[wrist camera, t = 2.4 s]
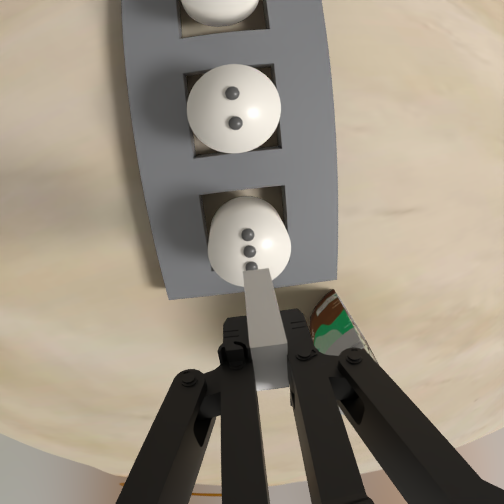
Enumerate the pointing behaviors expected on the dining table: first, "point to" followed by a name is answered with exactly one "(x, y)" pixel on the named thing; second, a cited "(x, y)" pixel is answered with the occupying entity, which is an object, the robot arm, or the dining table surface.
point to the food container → (335, 328)
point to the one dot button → (219, 11)
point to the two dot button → (233, 108)
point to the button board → (233, 164)
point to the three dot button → (247, 239)
